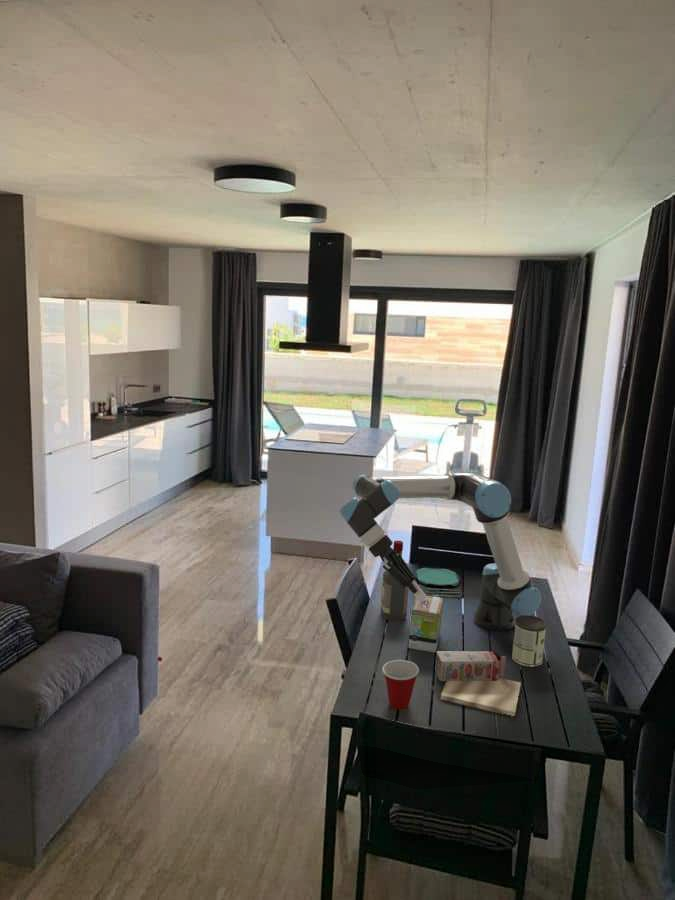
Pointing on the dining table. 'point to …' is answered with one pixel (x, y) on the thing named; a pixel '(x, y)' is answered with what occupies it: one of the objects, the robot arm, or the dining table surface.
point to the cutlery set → (438, 579)
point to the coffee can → (529, 640)
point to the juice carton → (469, 665)
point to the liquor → (394, 593)
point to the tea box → (426, 624)
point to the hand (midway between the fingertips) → (423, 599)
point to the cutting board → (484, 694)
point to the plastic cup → (400, 682)
